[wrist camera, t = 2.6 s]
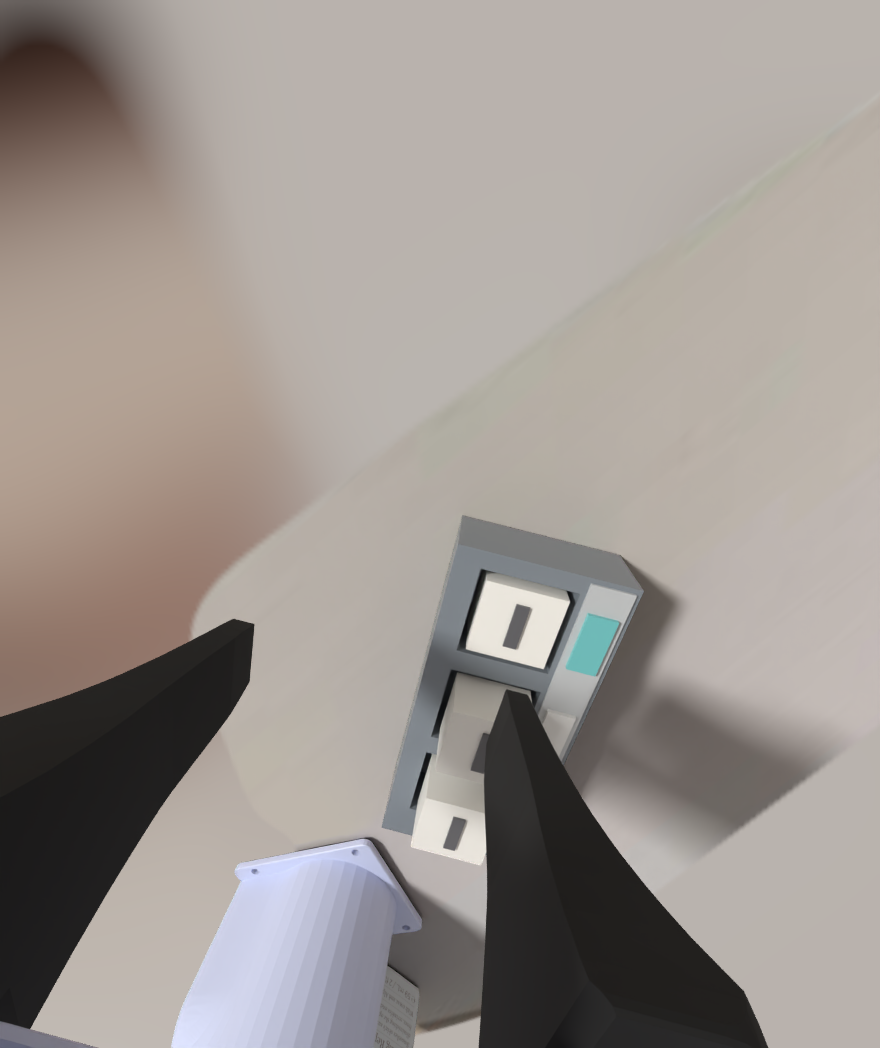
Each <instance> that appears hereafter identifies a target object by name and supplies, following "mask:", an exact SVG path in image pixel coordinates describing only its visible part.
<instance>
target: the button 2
mask: <svg viewBox="0 0 880 1048" xmlns="http://www.w3.org/2000/svg"><path fill="white" fill-rule="evenodd" d="M569 603H570V600H569V597H568V594H567V591H566V590H563V589H559V588H555V587H551V586H547V585H543V584H539V583H535V582H531V581H527V580H523V579H519V578H516V577H512V576H508V575H504V574H500V573H496V572H492V571H488V570H484V569H483V570H482V573H481V577H480V580H479V583H478V587H477V590H476V593H475V597H474V600H473V603H472V607H471V610H470V613H469V617H468V625H467V639H466V649H467V650H471V651H475V652H478V653H482V654H486V655H490V656H494V657H498V658H502V659H506V660H510V661H513V662H517V663H521V664H525V665H529V666H533V667H537V668H541V669H544V667H545V664H546V662H547V659H548V657H549V654H550V652H551V649H552V647H553V644H554V641H555V639H556V636H557V634H558V631H559V629H560V626H561V624H562V621H563V619H564V616H565V614H566V611H567V608H568V606H569Z"/></svg>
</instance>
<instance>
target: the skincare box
mask: <svg viewBox="0 0 880 1048" xmlns="http://www.w3.org/2000/svg"><path fill="white" fill-rule="evenodd" d="M419 998H420V993H419V989H418V988H417V987H416V986H414V985H413V984H412V983H410V982H409V981H408V980H406V979H405V978H404V977H402V976H401V975H400V974H398V973H397V972H396V971H394V970H393V969H392V968H390V967H389V966H387V970H386V976H385V982H384V988H383V994H382V1000H381V1006H380V1012H379V1018H378V1024H377V1030H376V1036H375V1042H374V1048H413V1045H414V1038H415V1029H416V1021H417V1013H418V1005H419Z"/></svg>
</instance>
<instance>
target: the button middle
mask: <svg viewBox="0 0 880 1048" xmlns="http://www.w3.org/2000/svg"><path fill="white" fill-rule="evenodd" d="M506 689H508V690H512V691H516V692H519V693H523V694H527V695H528V696H529V698H530V700H531V702H532V699H531V691H529V690H525V689H521V688H517V687H514V686H510V685H506V684H502V683H498V682H494V681H490V680H486V679H482V678H479V677H475V676H471V675H467V674H463V673H459V672H457V674H456V677H455V681H454V684H453V687H452V690H451V694H450V697H449V700H448V704H447V707H446V710H445V713H444V717H443V720H442V723H441V726H440V733H439V741H438V748H437V756H436V764H435V771H437V772H440V773H444V774H448V775H452V776H456V777H460V778H463V779H467V780H471V781H475V782H479V783H483V784H484V769H485V756H486V743H487V740H488V738H489V735H490V732H491V729H492V727H493V724H494V721H495V718H496V715H497V713H498V710H499V707H500V704H501V702H502V699H503V696H504V693H505V691H506Z"/></svg>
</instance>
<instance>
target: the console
mask: <svg viewBox="0 0 880 1048" xmlns="http://www.w3.org/2000/svg"><path fill="white" fill-rule="evenodd" d="M483 569H484V570H488V571H492V572H496V573H500V574H504V575H508V576H512V577H516V578H519V579H523V580H527V581H531V582H535V583H539V584H543V585H547V586H551V587H555V588H559V589H563V590H566V591H567V594H568V597H569V600H570V603H569V606H568V608H567V611H566V614H565V616H564V619H563V621H562V624H561V626H560V629H559V631H558V634H557V636H556V639H555V641H554V644H553V647H552V649H551V652H550V654H549V657H548V659H547V662H546V664H545V667H544V669H541V668H537V667H533V666H529V665H525V664H521V663H517V662H513V661H510V660H506V659H502V658H498V657H494V656H490V655H486V654H482V653H478V652H475V651H471V650H467V649H466V639H467V625H468V617H469V613H470V610H471V607H472V603H473V600H474V597H475V593H476V590H477V587H478V583H479V580H480V577H481V573H482V570H483ZM643 592H644V590H643V589H642V587H641V586H640V584H639V583H638V581H637V580H636V579H635V577H634V576H633V574H632V573H631V571H630V570H629V568H628V567H627V565H626V564H625V562H624V561H623V559H622V558H621V556H620V555H617V554H614V553H610V552H606V551H602V550H598V549H594V548H590V547H586V546H582V545H578V544H574V543H570V542H566V541H562V540H558V539H554V538H550V537H546V536H542V535H538V534H534V533H530V532H526V531H523V530H519V529H515V528H511V527H507V526H503V525H499V524H495V523H491V522H487V521H483V520H479V519H475V518H471V517H467V516H462V519H461V523H460V527H459V531H458V534H457V538H456V542H455V546H454V549H453V553H452V557H451V561H450V564H449V568H448V572H447V576H446V579H445V583H444V587H443V591H442V594H441V598H440V602H439V606H438V609H437V613H436V617H435V621H434V625H433V628H432V632H431V636H430V640H429V643H428V647H427V651H426V655H425V658H424V662H423V666H422V670H421V673H420V677H419V681H418V685H417V688H416V692H415V696H414V700H413V703H412V707H411V711H410V715H409V718H408V722H407V726H406V730H405V733H404V737H403V741H402V745H401V748H400V752H399V756H398V760H397V763H396V767H395V771H394V775H393V780H392V784H391V789H390V793H389V797H388V802H387V806H386V811H385V815H384V819H383V824H382V828H385V829H389V830H393V831H397V832H401V833H404V834H408V835H413V829H414V823H415V816H416V810H417V803H418V798H419V795H420V792H421V789H422V785H423V782H424V779H425V775H426V772H427V769H428V766H429V762H430V759H431V756H432V754H436V755H437V748H438V741H439V733H440V726H441V723H442V720H443V717H444V713H445V710H446V707H447V704H448V700H449V697H450V694H451V690H452V687H453V684H454V681H455V677H456V674H457V672H459V673H463V674H467V675H471V676H475V677H479V678H482V679H486V680H490V681H494V682H498V683H502V684H506V685H510V686H514V687H517V688H521V689H525V690H529V691H531V699H532V704H533V706H534V708H535V710H536V713H537V715H538V717H539V719H540V721H541V723H542V725H543V727H544V729H545V731H546V733H547V736H548V738H549V740H550V741H551V743H552V745H553V747H554V749H555V751H556V753H557V755H558V757H559V759H560V760H561V762H562V764H563V765H564V763H565V761H566V759H567V757H568V755H569V752H570V750H571V748H572V746H573V744H574V742H575V739H576V737H577V735H578V733H579V731H580V729H581V726H582V724H583V722H584V720H585V718H586V716H587V714H588V711H589V709H590V707H591V705H592V703H593V701H594V698H595V696H596V694H597V692H598V690H599V688H600V685H601V683H602V681H603V679H604V677H605V675H606V672H607V670H608V668H609V666H610V664H611V662H612V659H613V657H614V655H615V653H616V651H617V649H618V646H619V644H620V642H621V640H622V638H623V636H624V633H625V631H626V629H627V627H628V625H629V623H630V621H631V618H632V616H633V614H634V612H635V610H636V608H637V605H638V603H639V601H640V599H641V597H642V595H643ZM485 855H486V854H485Z"/></svg>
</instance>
